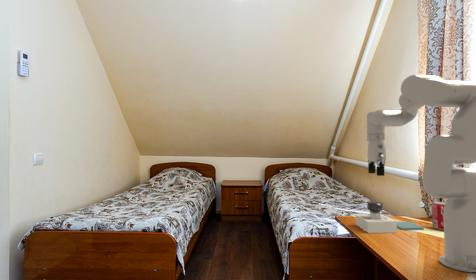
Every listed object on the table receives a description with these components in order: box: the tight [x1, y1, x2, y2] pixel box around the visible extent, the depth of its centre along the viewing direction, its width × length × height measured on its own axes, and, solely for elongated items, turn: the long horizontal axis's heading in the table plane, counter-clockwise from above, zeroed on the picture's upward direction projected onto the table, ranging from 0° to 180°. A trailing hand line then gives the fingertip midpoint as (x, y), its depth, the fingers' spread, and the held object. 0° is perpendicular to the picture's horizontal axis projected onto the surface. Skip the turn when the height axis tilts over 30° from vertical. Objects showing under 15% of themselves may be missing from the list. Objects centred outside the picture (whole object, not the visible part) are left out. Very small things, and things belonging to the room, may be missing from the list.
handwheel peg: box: [366, 201, 383, 220], centre depth 138 cm, size 6×6×12 cm
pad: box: [397, 221, 425, 231], centre depth 141 cm, size 10×10×1 cm
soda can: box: [431, 201, 446, 231], centre depth 137 cm, size 7×7×12 cm
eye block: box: [355, 213, 398, 234], centre depth 138 cm, size 13×13×5 cm
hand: (376, 174), depth 139 cm, fingers open, 9 cm apart
